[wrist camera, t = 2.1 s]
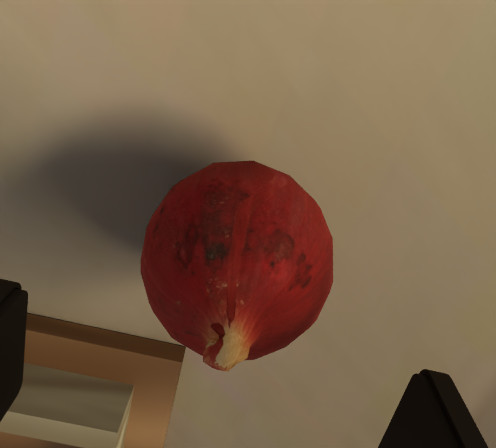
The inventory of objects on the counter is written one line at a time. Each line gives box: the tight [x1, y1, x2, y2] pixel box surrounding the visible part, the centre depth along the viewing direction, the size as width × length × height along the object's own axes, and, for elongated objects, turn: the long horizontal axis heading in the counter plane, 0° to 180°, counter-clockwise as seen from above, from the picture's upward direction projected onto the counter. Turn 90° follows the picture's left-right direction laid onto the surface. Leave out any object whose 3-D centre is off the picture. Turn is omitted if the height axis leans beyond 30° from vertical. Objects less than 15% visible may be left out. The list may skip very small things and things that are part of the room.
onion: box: [141, 161, 333, 371], centre depth 14 cm, size 6×6×8 cm
